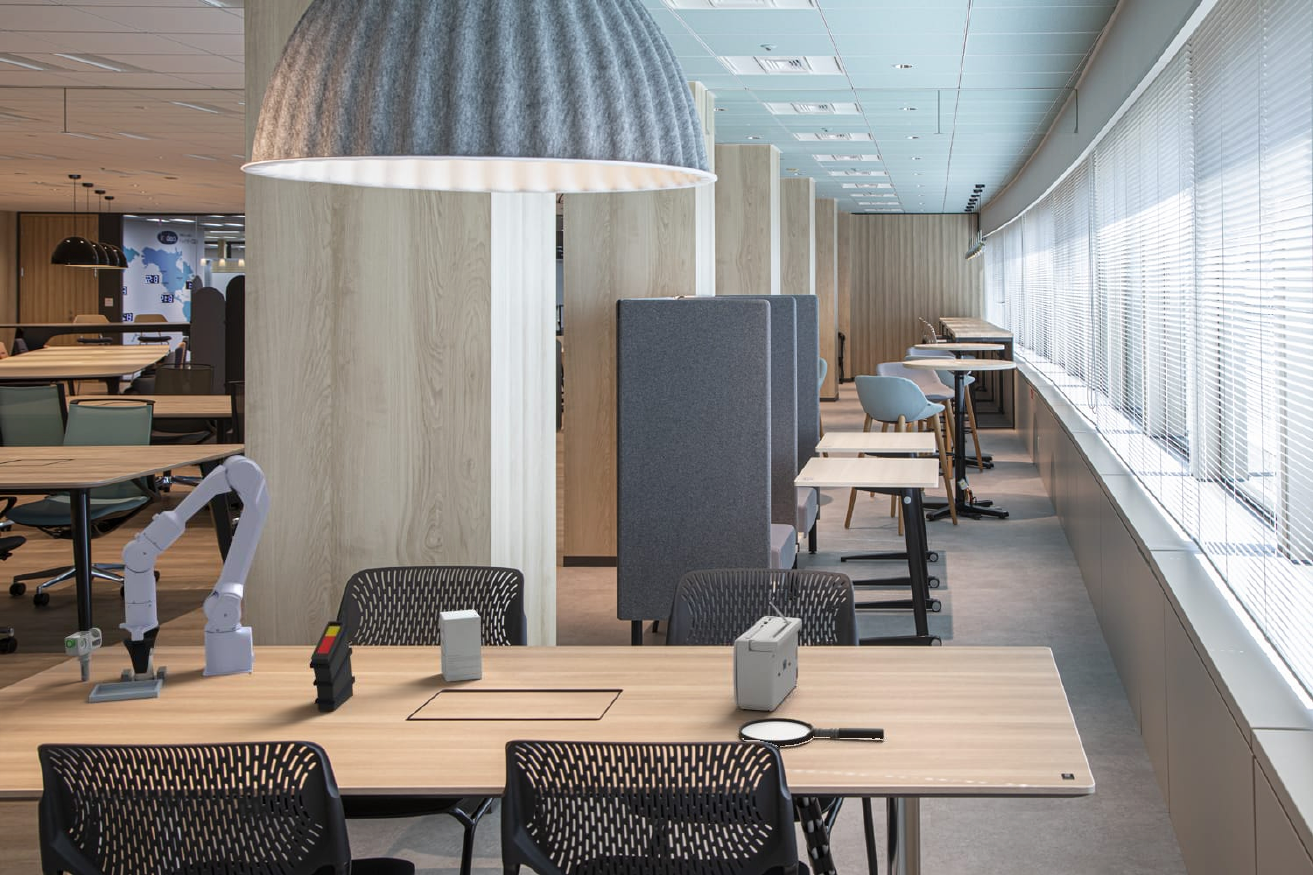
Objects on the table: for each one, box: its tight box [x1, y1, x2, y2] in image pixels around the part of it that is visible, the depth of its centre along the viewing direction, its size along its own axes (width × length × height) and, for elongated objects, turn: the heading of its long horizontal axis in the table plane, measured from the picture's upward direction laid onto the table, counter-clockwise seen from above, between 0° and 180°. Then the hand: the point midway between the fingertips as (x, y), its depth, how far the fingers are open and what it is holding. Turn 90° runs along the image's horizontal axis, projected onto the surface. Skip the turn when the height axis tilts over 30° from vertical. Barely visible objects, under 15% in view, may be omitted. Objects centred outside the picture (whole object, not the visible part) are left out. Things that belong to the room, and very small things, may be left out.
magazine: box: [309, 620, 356, 712], centre depth 237 cm, size 4×13×15 cm, turn 174°
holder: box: [120, 665, 169, 683], centre depth 255 cm, size 8×5×2 cm, turn 105°
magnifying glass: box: [738, 717, 885, 749], centre depth 214 cm, size 12×24×2 cm, turn 81°
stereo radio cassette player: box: [732, 601, 803, 712], centre depth 237 cm, size 21×8×20 cm, turn 160°
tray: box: [88, 679, 164, 704], centre depth 245 cm, size 12×9×2 cm
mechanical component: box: [64, 627, 103, 682], centre depth 255 cm, size 3×10×10 cm, turn 174°
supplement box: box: [439, 609, 483, 683], centre depth 255 cm, size 7×7×13 cm
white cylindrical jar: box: [133, 648, 155, 681], centre depth 255 cm, size 4×4×6 cm
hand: (143, 668), depth 255 cm, fingers open, 7 cm apart
